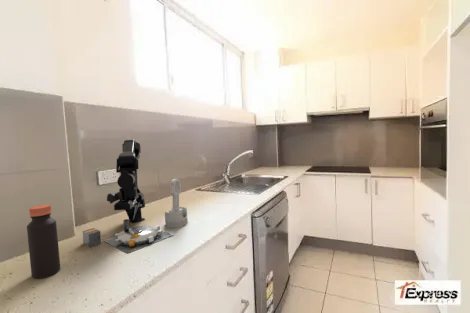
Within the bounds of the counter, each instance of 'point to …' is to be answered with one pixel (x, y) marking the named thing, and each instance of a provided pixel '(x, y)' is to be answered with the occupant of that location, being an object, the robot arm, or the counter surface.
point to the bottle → (43, 242)
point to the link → (91, 237)
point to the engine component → (176, 208)
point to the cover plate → (133, 248)
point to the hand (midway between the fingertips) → (131, 220)
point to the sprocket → (137, 234)
